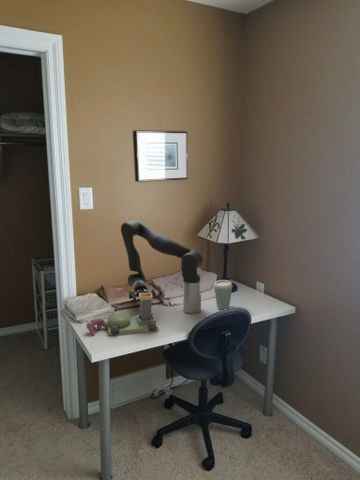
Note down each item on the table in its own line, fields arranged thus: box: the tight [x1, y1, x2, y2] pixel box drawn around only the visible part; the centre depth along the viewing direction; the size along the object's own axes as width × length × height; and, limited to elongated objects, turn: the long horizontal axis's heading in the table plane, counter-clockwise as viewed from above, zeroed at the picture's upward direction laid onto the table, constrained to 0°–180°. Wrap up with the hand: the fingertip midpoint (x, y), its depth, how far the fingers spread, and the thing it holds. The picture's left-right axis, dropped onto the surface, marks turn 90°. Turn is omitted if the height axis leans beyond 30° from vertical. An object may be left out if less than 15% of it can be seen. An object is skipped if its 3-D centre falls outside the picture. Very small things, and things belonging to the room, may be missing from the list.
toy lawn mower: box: [107, 312, 159, 336], centre depth 196 cm, size 24×16×5 cm
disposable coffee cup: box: [213, 279, 233, 311], centre depth 218 cm, size 11×11×15 cm
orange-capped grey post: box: [139, 292, 154, 321], centre depth 196 cm, size 6×6×14 cm
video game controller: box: [86, 317, 108, 336], centre depth 191 cm, size 10×5×7 cm, turn 139°
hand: (143, 298), depth 203 cm, fingers open, 8 cm apart
